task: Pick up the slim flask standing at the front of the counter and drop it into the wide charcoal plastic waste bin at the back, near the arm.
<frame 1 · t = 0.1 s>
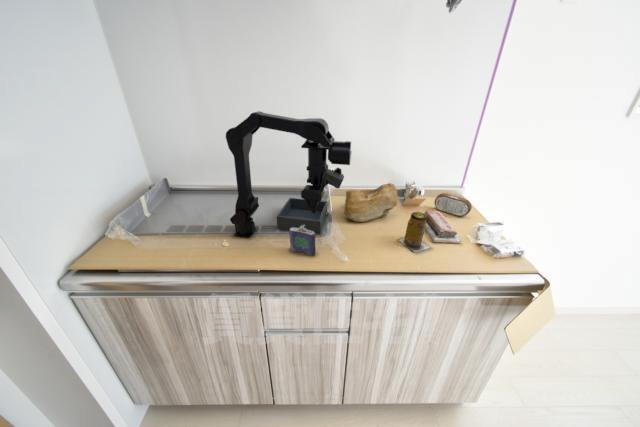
hand: (316, 206, 82), 15 cm above the countertop, tool pointing down, fingers open, 9 cm apart
tin: (449, 213, 111), on the countertop
condiment: (413, 244, 89), on the countertop
bin: (303, 220, 103), on the countertop
packaged product: (437, 230, 98), on the countertop
flask: (303, 252, 84), on the countertop
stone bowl: (365, 213, 109), on the countertop
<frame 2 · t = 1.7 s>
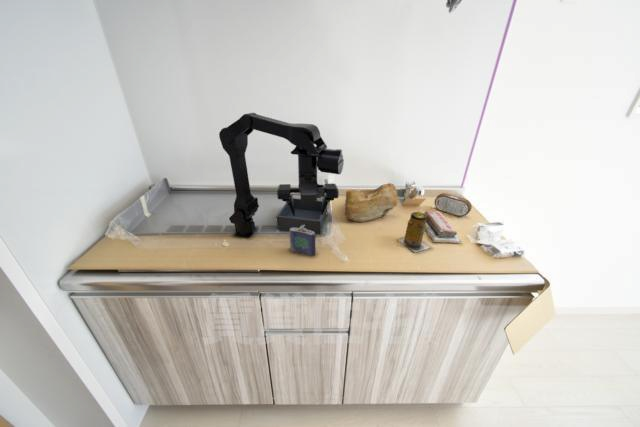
hand: (308, 214, 80), 14 cm above the countertop, tool pointing down, fingers open, 9 cm apart
nothing on the countertop moved.
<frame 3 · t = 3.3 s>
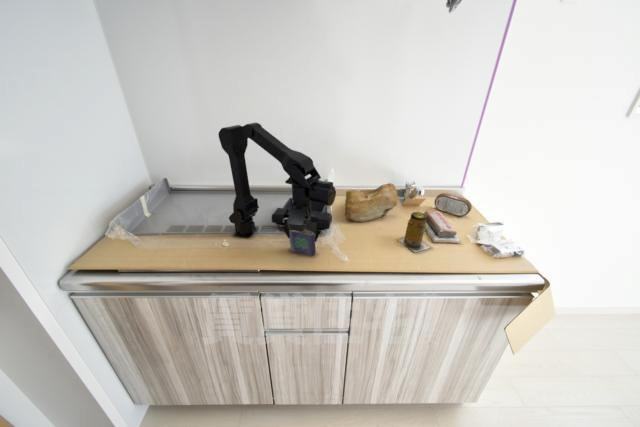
hand: (302, 239, 82), 5 cm above the countertop, tool pointing down, fingers closed on flask, 9 cm apart
flask: (303, 252, 84), on the countertop, touching gripper
everything else where it was.
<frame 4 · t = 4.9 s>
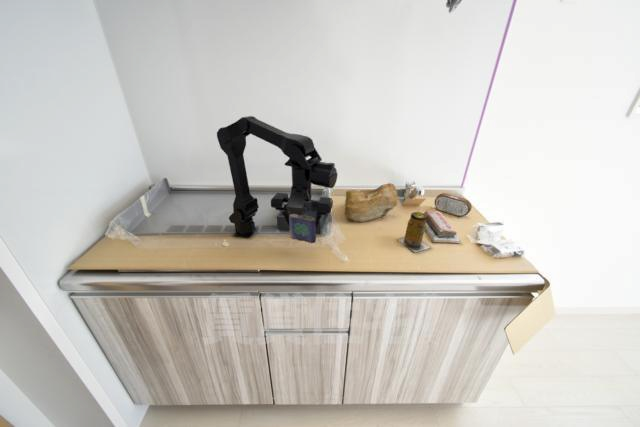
hand: (302, 225, 79), 11 cm above the countertop, tool pointing down, fingers closed on flask, 9 cm apart
flask: (303, 239, 82), point 5 cm above the countertop, touching gripper
everything else where it was.
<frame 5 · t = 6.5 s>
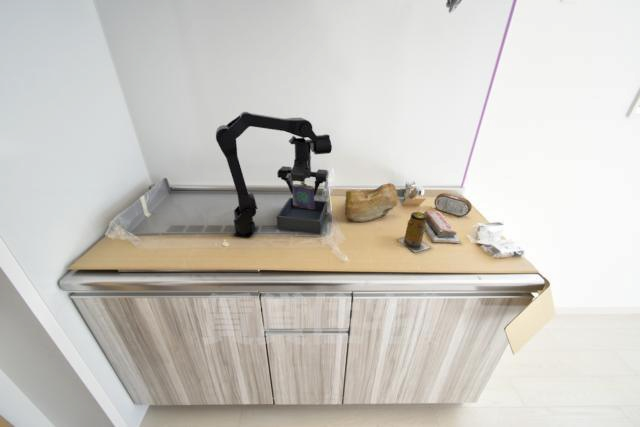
hand: (303, 194, 95), 13 cm above the countertop, tool pointing down, fingers closed on flask, 9 cm apart
flask: (304, 206, 98), point 8 cm above the countertop, touching gripper
everything else where it was.
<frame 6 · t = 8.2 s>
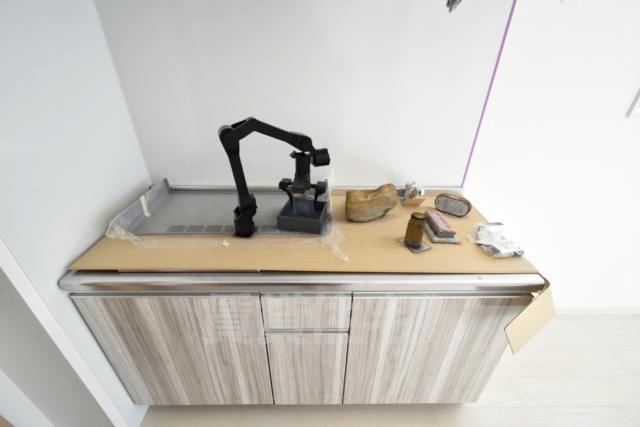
hand: (303, 204, 99), 8 cm above the countertop, tool pointing down, fingers closed on flask, 9 cm apart
flask: (303, 216, 102), point 2 cm above the countertop, touching gripper
everything else where it was.
when the fingers open (8 cm above the countertop, at t = 9.5 s): flask drops 2 cm, resting on bin.
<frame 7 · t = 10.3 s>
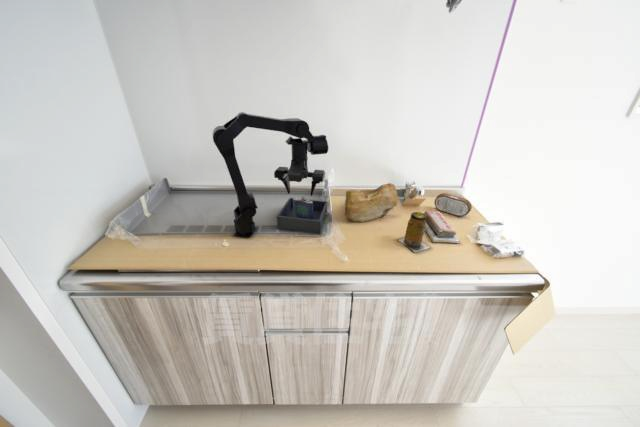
hand: (300, 194, 95), 13 cm above the countertop, tool pointing down, fingers open, 9 cm apart
flask: (303, 219, 102), point 1 cm above the countertop, touching bin
everything else where it was.
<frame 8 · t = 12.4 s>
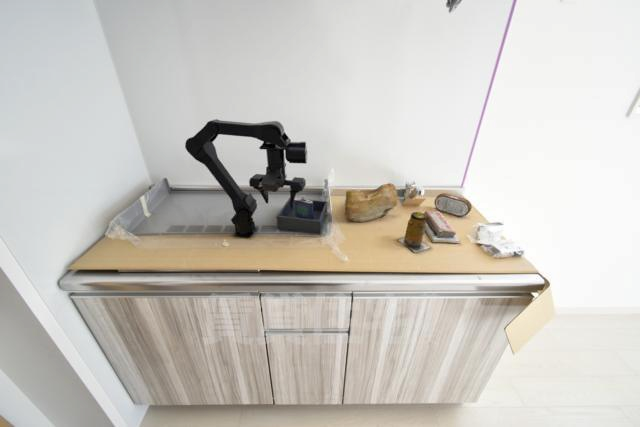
hand: (279, 204, 87), 13 cm above the countertop, tool pointing down, fingers open, 9 cm apart
nothing on the countertop moved.
at the end: flask inside the target area in the bin (0.2 cm from its centre), point 0.6 cm above the bin's base; the gripper is holding nothing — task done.
